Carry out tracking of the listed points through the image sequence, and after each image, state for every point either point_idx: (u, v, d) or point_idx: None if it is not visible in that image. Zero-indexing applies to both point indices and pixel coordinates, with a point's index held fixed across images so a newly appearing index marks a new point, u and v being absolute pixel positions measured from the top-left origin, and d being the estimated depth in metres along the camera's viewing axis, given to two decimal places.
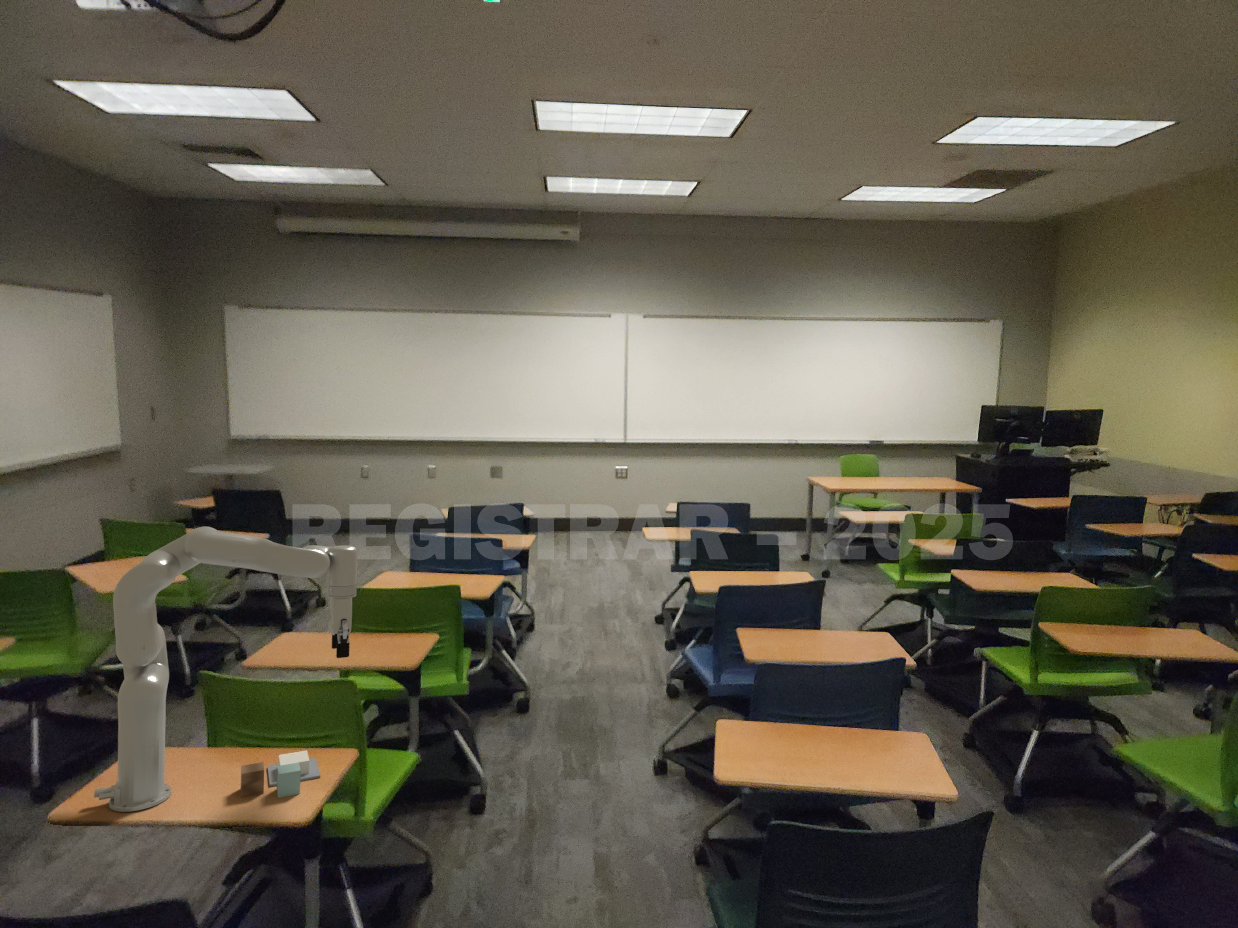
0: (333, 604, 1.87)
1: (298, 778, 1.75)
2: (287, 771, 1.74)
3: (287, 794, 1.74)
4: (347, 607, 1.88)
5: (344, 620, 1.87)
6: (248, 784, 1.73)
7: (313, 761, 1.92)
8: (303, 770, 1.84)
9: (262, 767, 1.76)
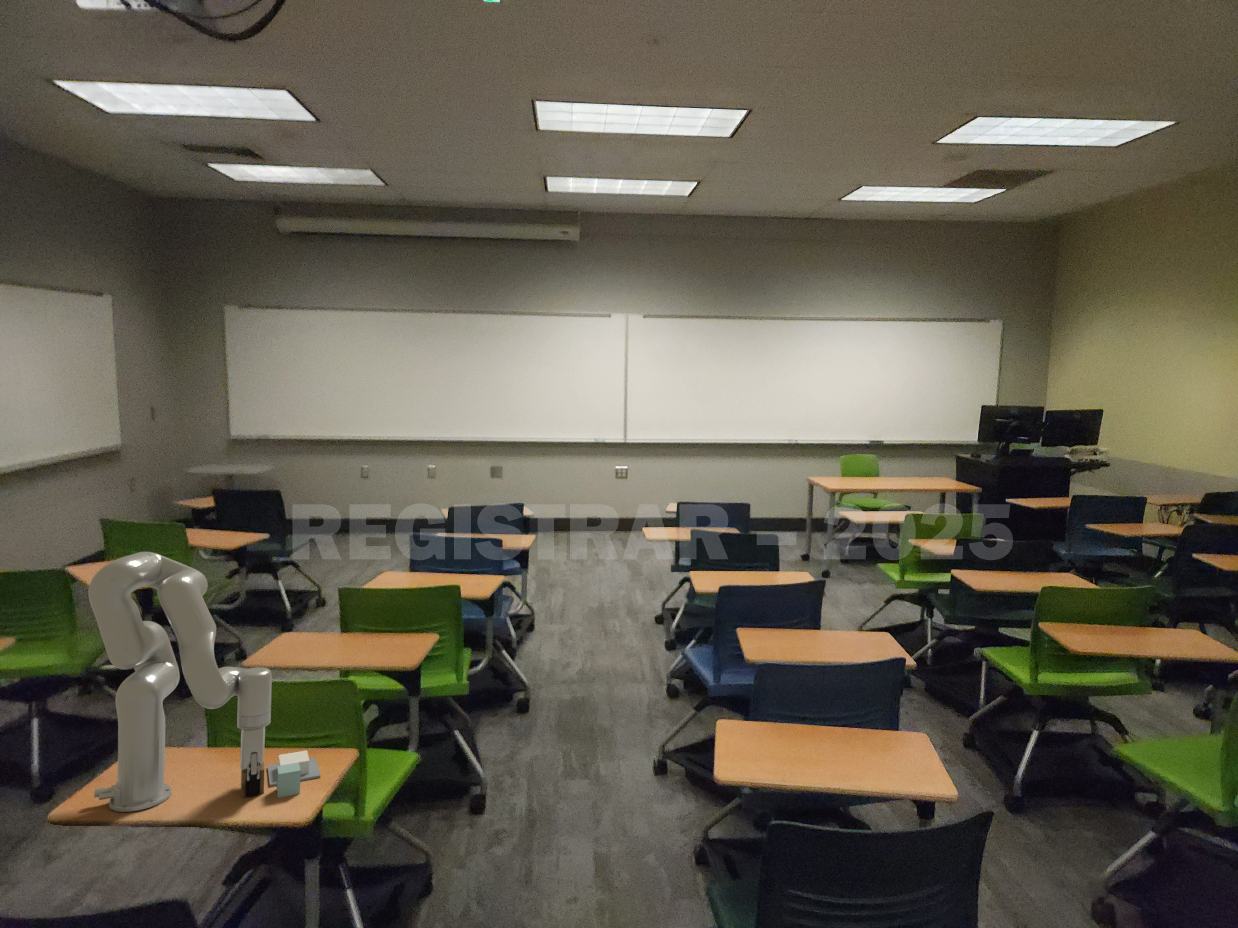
0: (242, 736, 1.71)
1: (298, 778, 1.75)
2: (287, 771, 1.74)
3: (287, 794, 1.74)
4: (258, 739, 1.72)
5: (254, 756, 1.71)
6: None
7: (313, 761, 1.92)
8: (303, 770, 1.84)
9: (262, 767, 1.76)
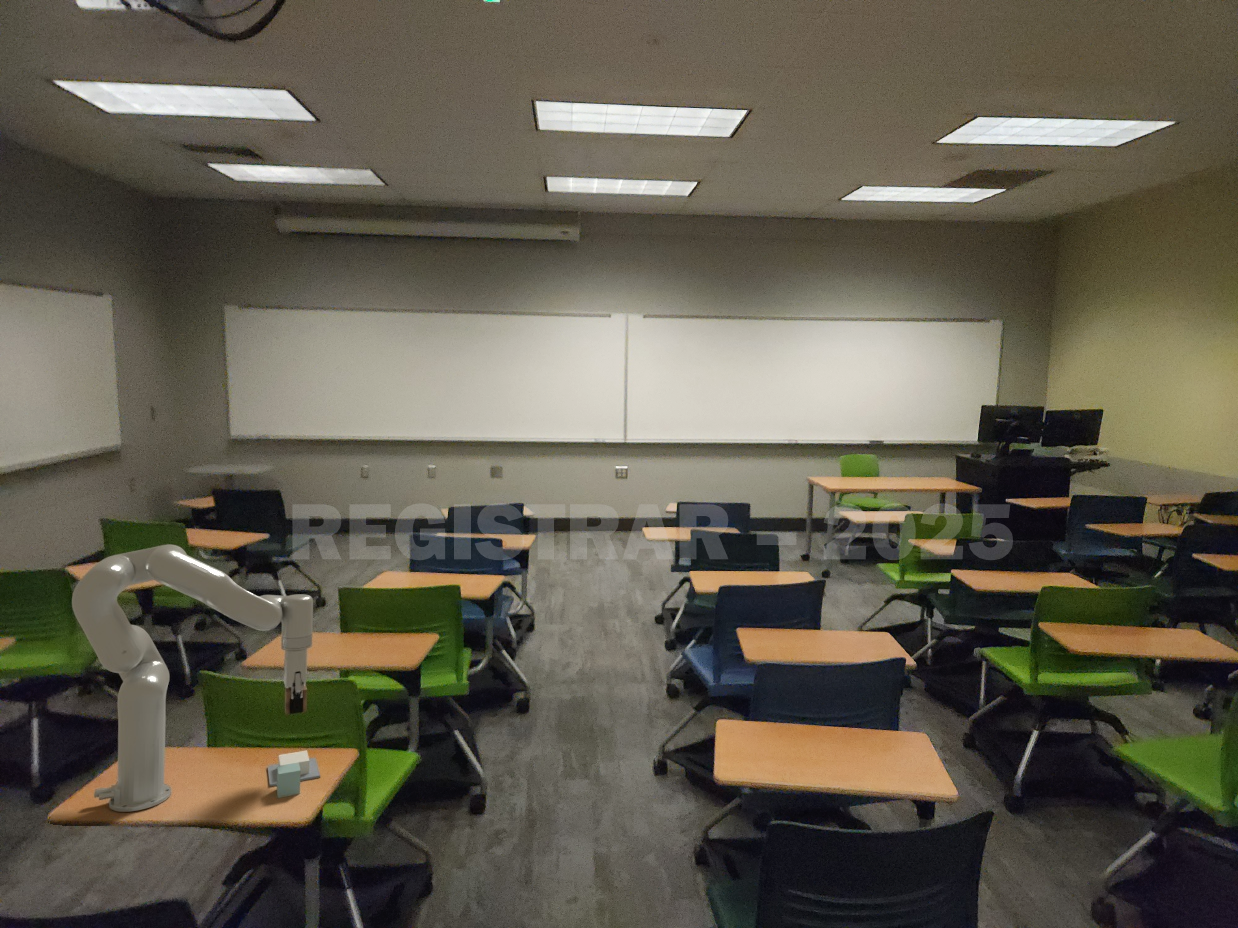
0: (287, 656, 1.81)
1: (298, 778, 1.75)
2: (287, 771, 1.74)
3: (287, 794, 1.74)
4: (301, 659, 1.82)
5: (298, 675, 1.81)
6: None
7: (313, 761, 1.92)
8: (303, 770, 1.84)
9: (305, 687, 1.86)
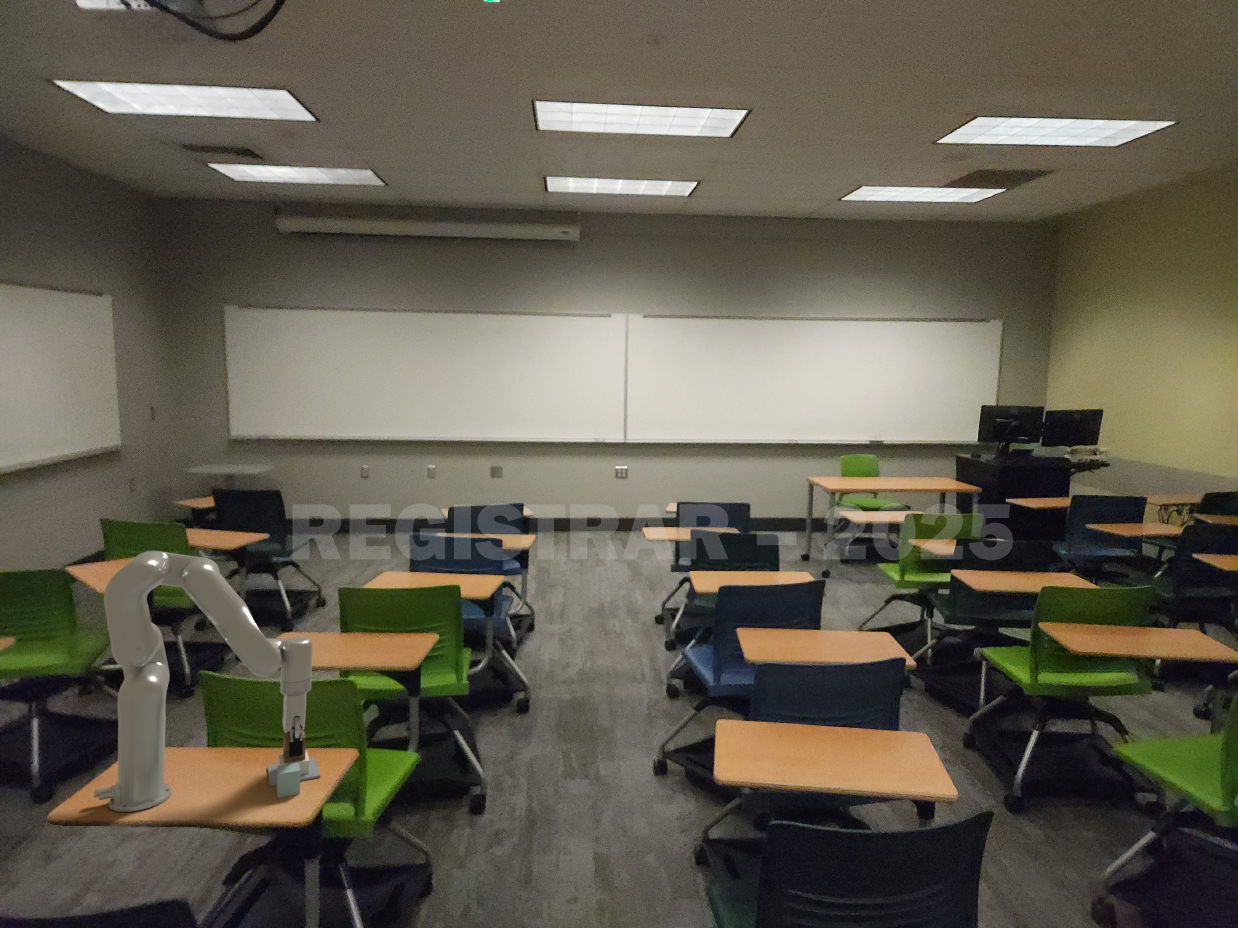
0: (286, 701, 1.82)
1: (298, 778, 1.75)
2: (287, 771, 1.74)
3: (287, 794, 1.74)
4: (300, 704, 1.82)
5: (297, 717, 1.81)
6: None
7: (313, 761, 1.92)
8: (303, 770, 1.84)
9: (303, 735, 1.86)
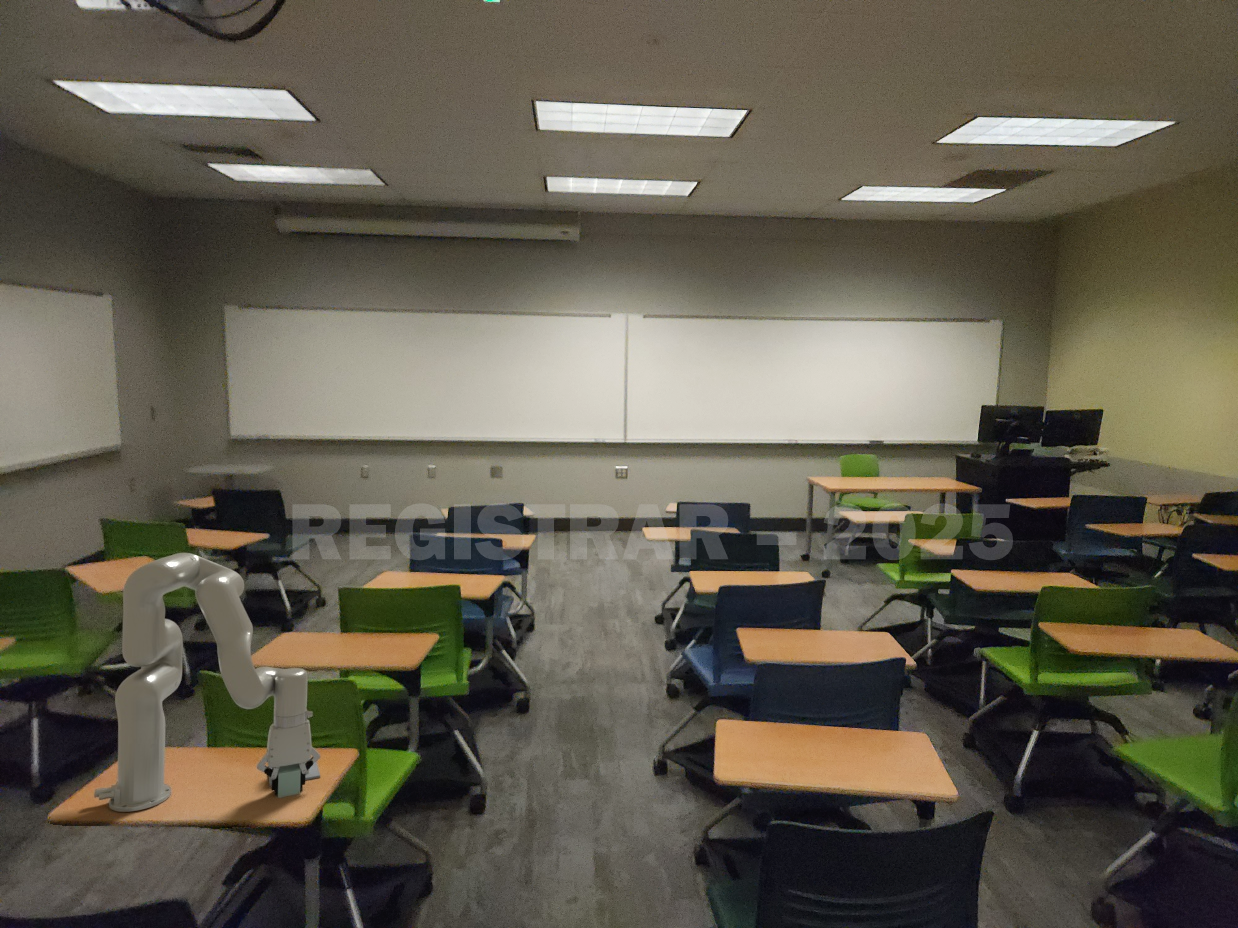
0: None
1: (298, 778, 1.75)
2: (287, 771, 1.74)
3: (287, 794, 1.74)
4: (269, 737, 1.73)
5: None
6: None
7: None
8: None
9: None
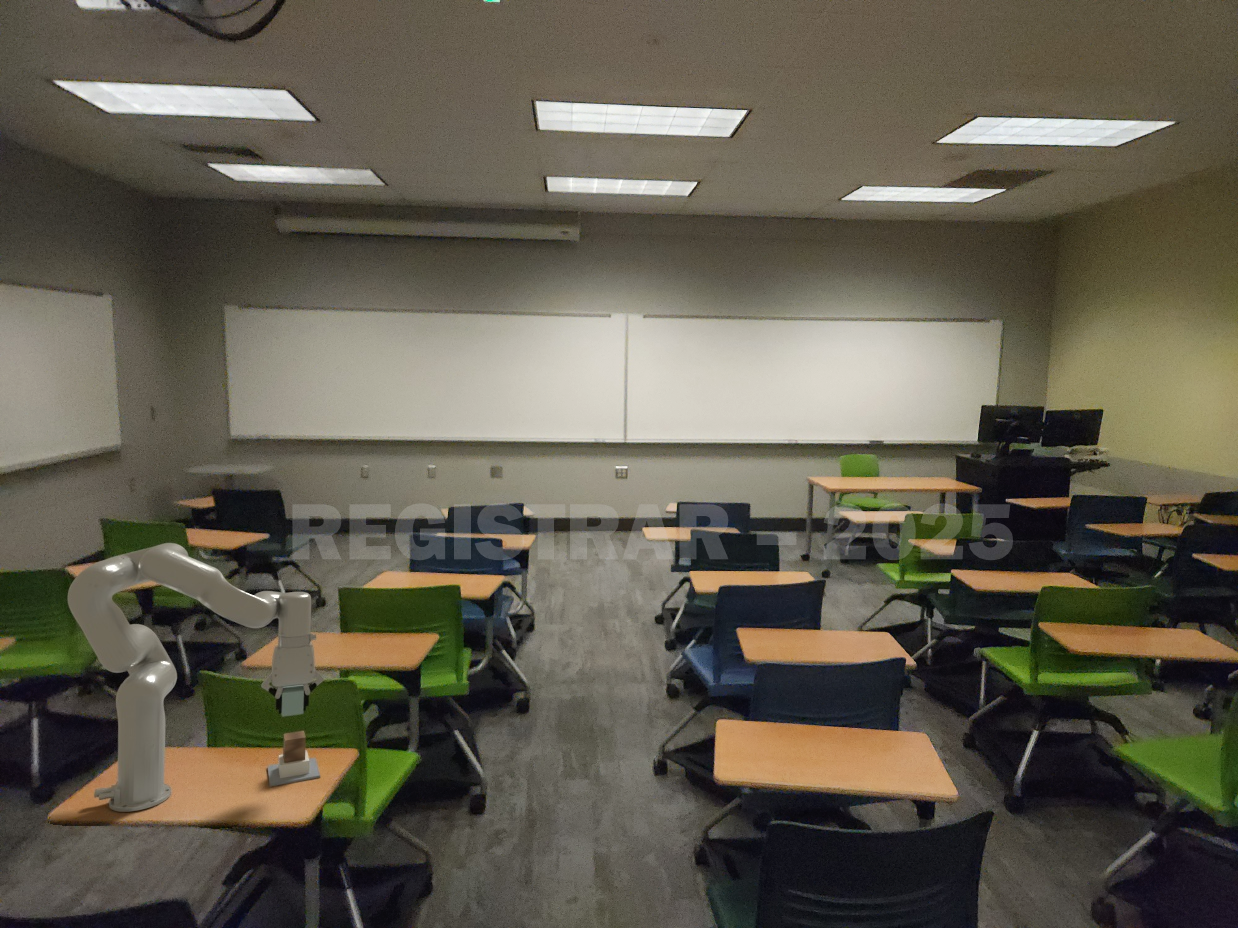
0: None
1: (301, 698, 1.78)
2: (291, 691, 1.77)
3: (291, 713, 1.77)
4: (273, 657, 1.76)
5: (271, 672, 1.77)
6: (291, 750, 1.83)
7: (313, 761, 1.92)
8: (303, 770, 1.84)
9: (303, 735, 1.86)
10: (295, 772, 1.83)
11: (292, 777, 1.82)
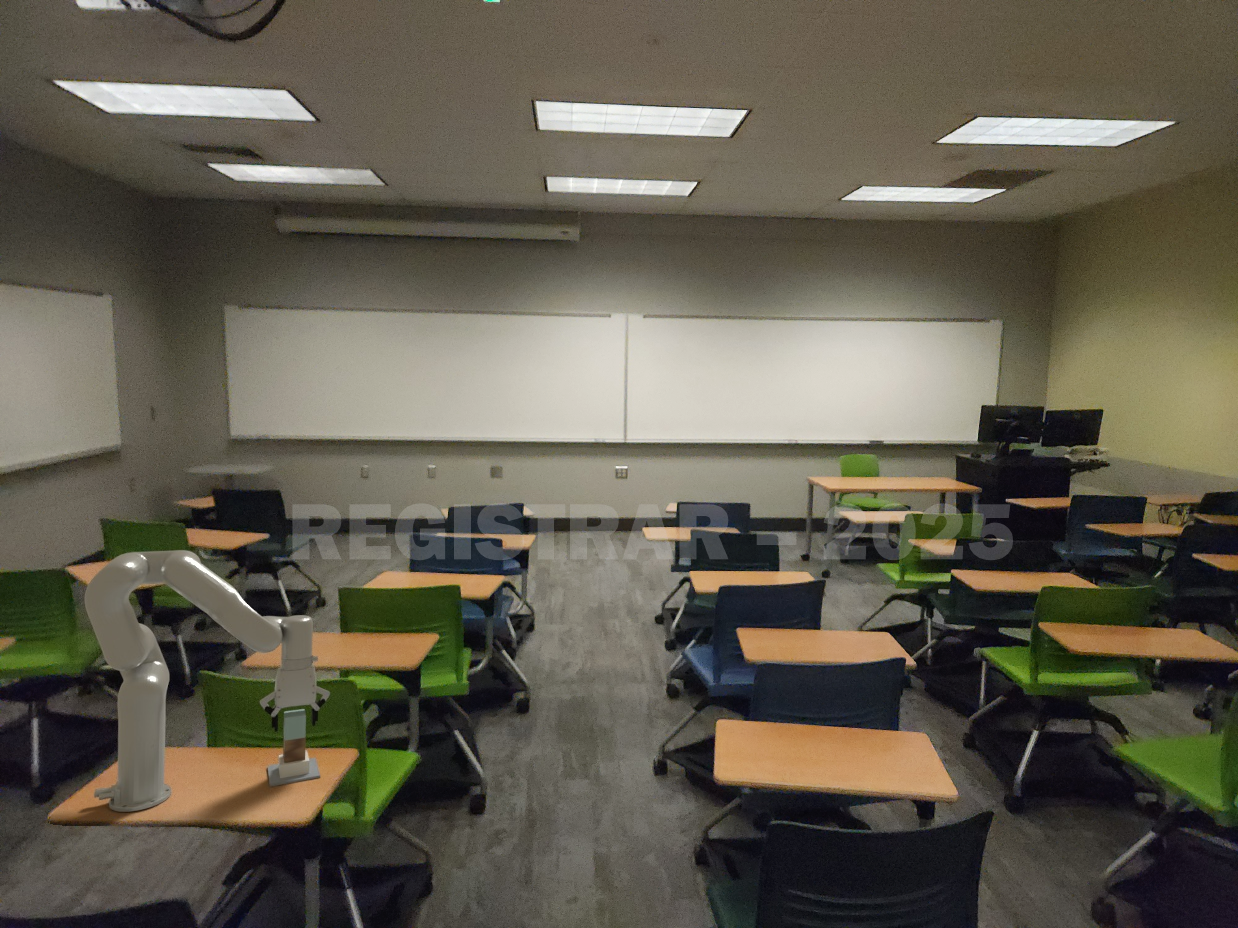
0: None
1: (304, 722, 1.85)
2: (293, 716, 1.84)
3: (293, 737, 1.84)
4: (276, 679, 1.83)
5: (274, 692, 1.83)
6: (291, 750, 1.83)
7: (313, 761, 1.92)
8: (303, 770, 1.84)
9: None
10: (295, 772, 1.83)
11: (292, 777, 1.82)
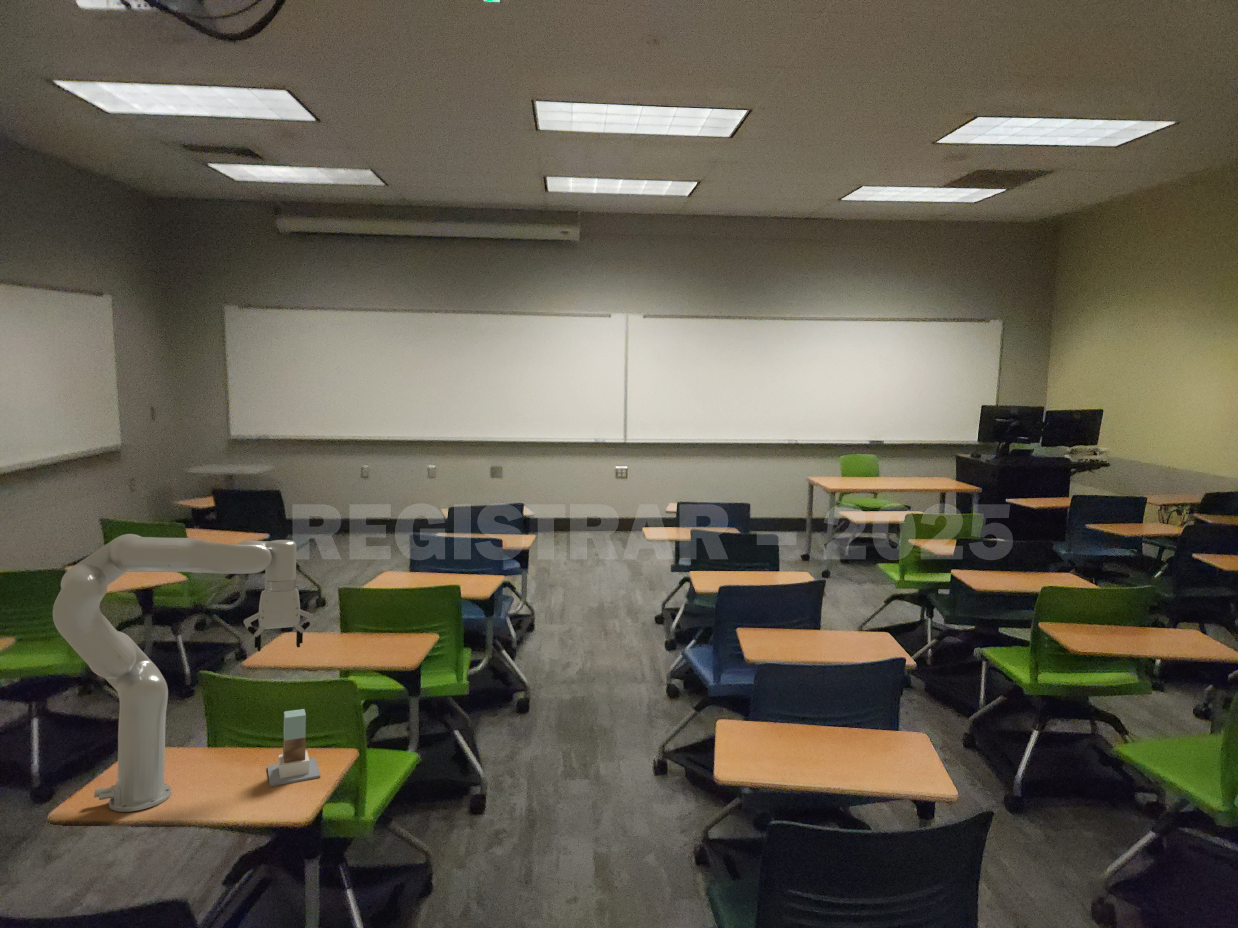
0: None
1: (304, 722, 1.85)
2: (293, 716, 1.84)
3: (293, 737, 1.84)
4: (260, 601, 1.86)
5: (258, 613, 1.87)
6: (291, 750, 1.83)
7: (313, 761, 1.92)
8: (303, 770, 1.84)
9: None
10: (295, 772, 1.83)
11: (292, 777, 1.82)
